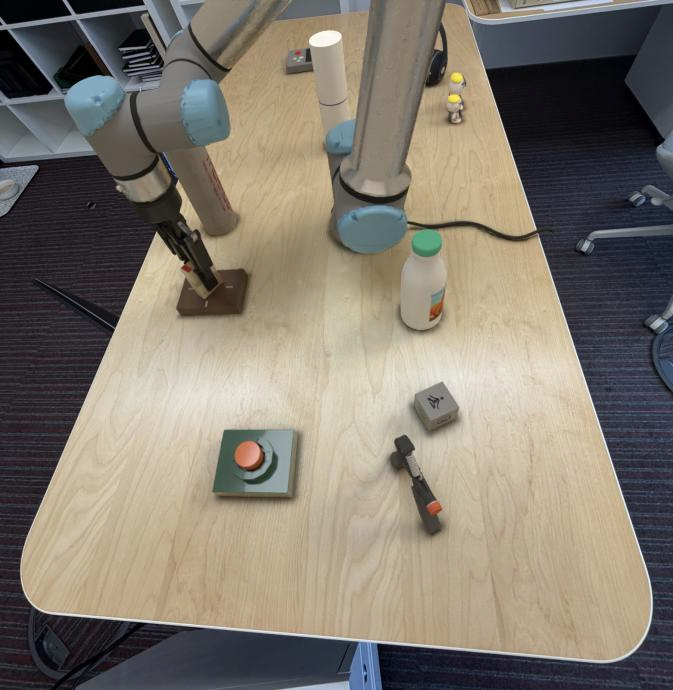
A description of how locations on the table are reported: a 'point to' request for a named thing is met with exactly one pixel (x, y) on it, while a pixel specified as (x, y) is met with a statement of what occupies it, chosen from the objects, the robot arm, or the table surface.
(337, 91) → the cylindrical container
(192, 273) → the knob
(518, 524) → the table surface
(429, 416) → the dice cube
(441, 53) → the headphones
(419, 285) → the milk bottle
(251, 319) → the table surface
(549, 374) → the table surface
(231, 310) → the panel
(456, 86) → the toy figures
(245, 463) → the orange button cap
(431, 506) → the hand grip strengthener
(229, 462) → the button housing
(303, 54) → the electronic device
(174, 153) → the thermos bottle
